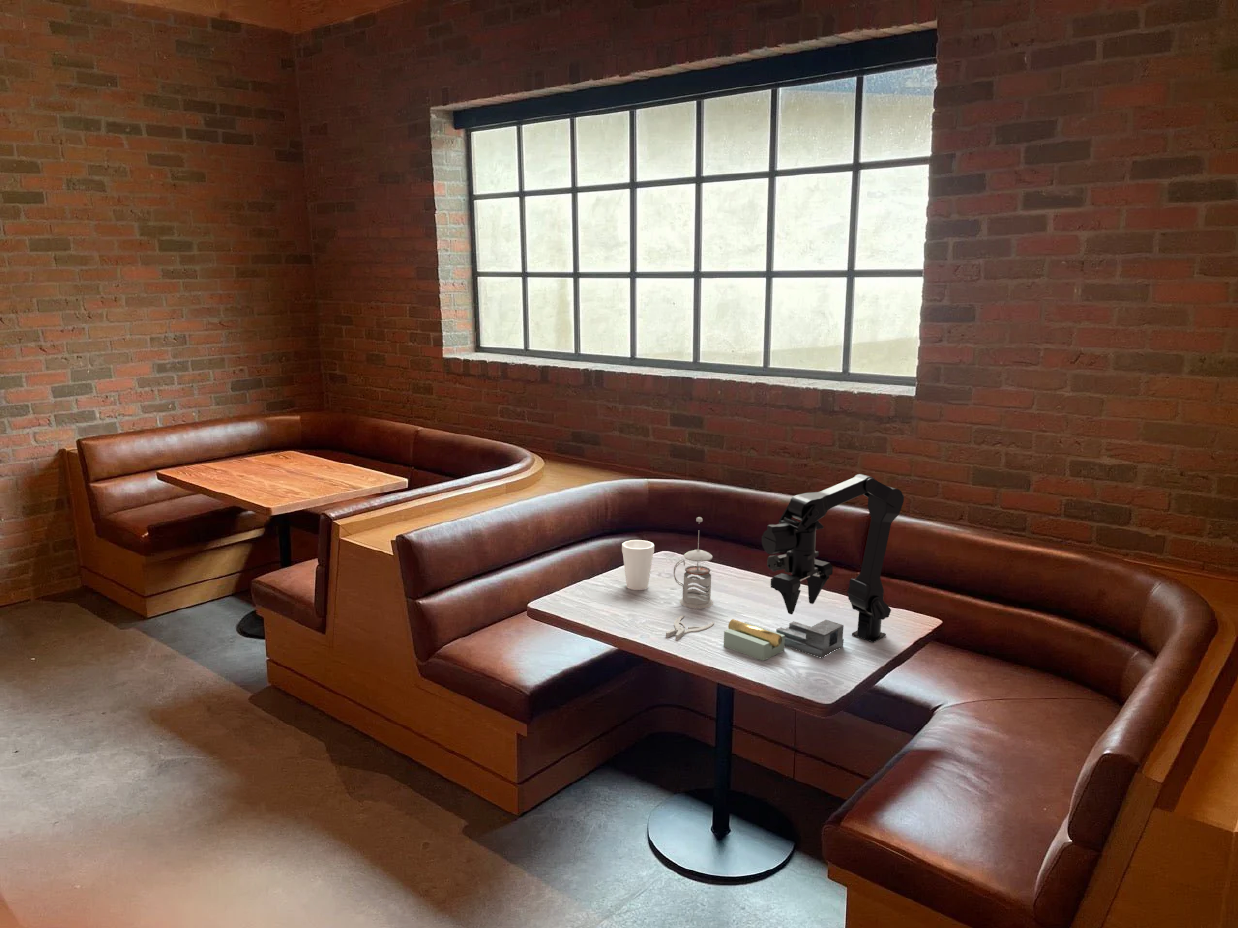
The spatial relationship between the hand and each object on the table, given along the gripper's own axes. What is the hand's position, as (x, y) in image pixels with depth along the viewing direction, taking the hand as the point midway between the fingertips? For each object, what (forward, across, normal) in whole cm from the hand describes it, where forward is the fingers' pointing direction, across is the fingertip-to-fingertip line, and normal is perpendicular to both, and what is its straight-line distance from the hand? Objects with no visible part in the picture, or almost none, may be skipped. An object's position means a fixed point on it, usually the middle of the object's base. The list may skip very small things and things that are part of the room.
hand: (801, 608), depth 213 cm
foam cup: (+11, -4, -60) cm, 61 cm away
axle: (+6, +7, -8) cm, 13 cm away
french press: (+11, -6, -40) cm, 42 cm away
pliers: (+11, +10, -28) cm, 32 cm away
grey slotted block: (+11, -5, -1) cm, 12 cm away
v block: (+11, +7, -8) cm, 15 cm away
